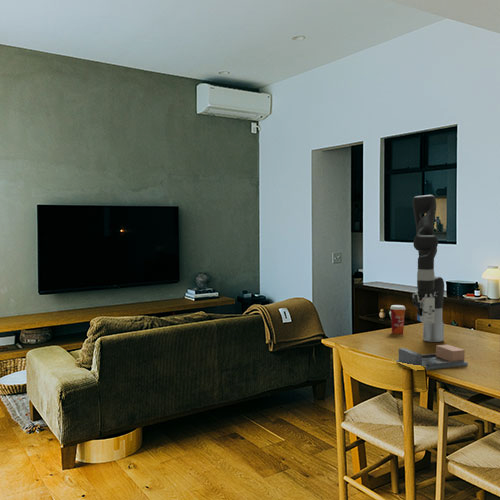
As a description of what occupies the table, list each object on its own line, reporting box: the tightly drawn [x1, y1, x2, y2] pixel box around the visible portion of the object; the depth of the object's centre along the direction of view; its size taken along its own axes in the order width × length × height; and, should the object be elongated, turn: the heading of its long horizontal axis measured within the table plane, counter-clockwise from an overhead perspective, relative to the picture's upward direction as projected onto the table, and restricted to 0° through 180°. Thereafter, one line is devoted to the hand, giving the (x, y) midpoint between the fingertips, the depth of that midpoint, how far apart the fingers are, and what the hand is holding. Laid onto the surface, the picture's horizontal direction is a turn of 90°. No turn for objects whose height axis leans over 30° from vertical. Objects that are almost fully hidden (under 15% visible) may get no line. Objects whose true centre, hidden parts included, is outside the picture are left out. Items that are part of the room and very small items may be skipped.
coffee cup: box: [389, 304, 406, 335], centre depth 285 cm, size 8×8×15 cm
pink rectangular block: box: [435, 344, 466, 361], centre depth 225 cm, size 6×11×5 cm, turn 18°
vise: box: [395, 347, 469, 371], centre depth 222 cm, size 26×14×6 cm, turn 108°
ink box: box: [416, 297, 435, 324], centre depth 237 cm, size 9×5×12 cm, turn 5°
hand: (425, 315), depth 237 cm, fingers closed on ink box, 5 cm apart
